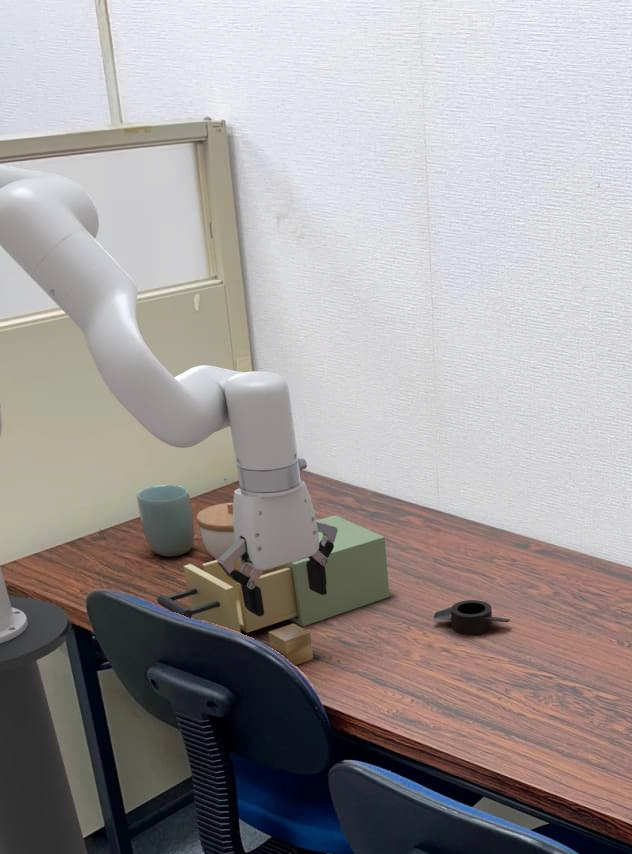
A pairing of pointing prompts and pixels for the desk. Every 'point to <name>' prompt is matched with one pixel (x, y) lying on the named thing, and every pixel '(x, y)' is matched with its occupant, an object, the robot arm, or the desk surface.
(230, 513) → the trinket box
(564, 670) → the desk surface
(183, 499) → the cup
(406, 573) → the desk surface
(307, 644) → the block
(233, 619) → the drawer
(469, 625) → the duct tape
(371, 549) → the box
